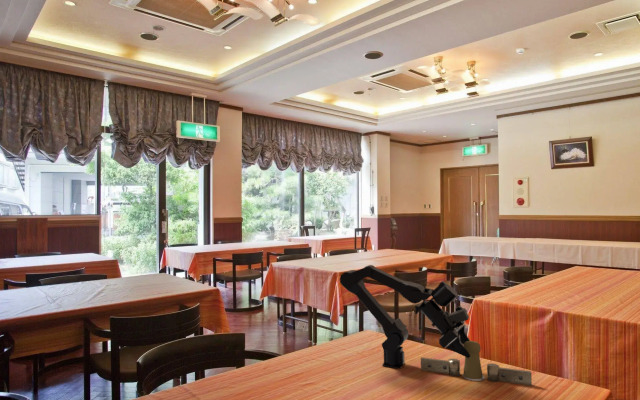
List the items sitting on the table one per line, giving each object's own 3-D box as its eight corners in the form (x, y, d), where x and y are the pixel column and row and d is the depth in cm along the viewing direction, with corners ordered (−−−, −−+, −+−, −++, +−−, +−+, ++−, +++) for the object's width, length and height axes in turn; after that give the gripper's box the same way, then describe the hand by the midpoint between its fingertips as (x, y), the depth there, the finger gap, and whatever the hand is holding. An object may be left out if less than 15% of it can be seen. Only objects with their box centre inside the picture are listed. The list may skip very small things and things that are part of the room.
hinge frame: (419, 373, 140) (419, 359, 140) (423, 366, 146) (422, 353, 146) (532, 389, 126) (531, 374, 126) (531, 380, 132) (530, 366, 132)
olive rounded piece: (486, 378, 134) (485, 344, 134) (469, 380, 133) (468, 345, 133) (476, 371, 140) (475, 338, 140) (459, 372, 139) (458, 339, 139)
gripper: (448, 305, 131) (487, 345, 126) (457, 294, 147) (491, 329, 142) (424, 328, 134) (460, 367, 129) (435, 314, 151) (467, 349, 146)
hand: (471, 352), depth 136 cm, fingers open, 9 cm apart
